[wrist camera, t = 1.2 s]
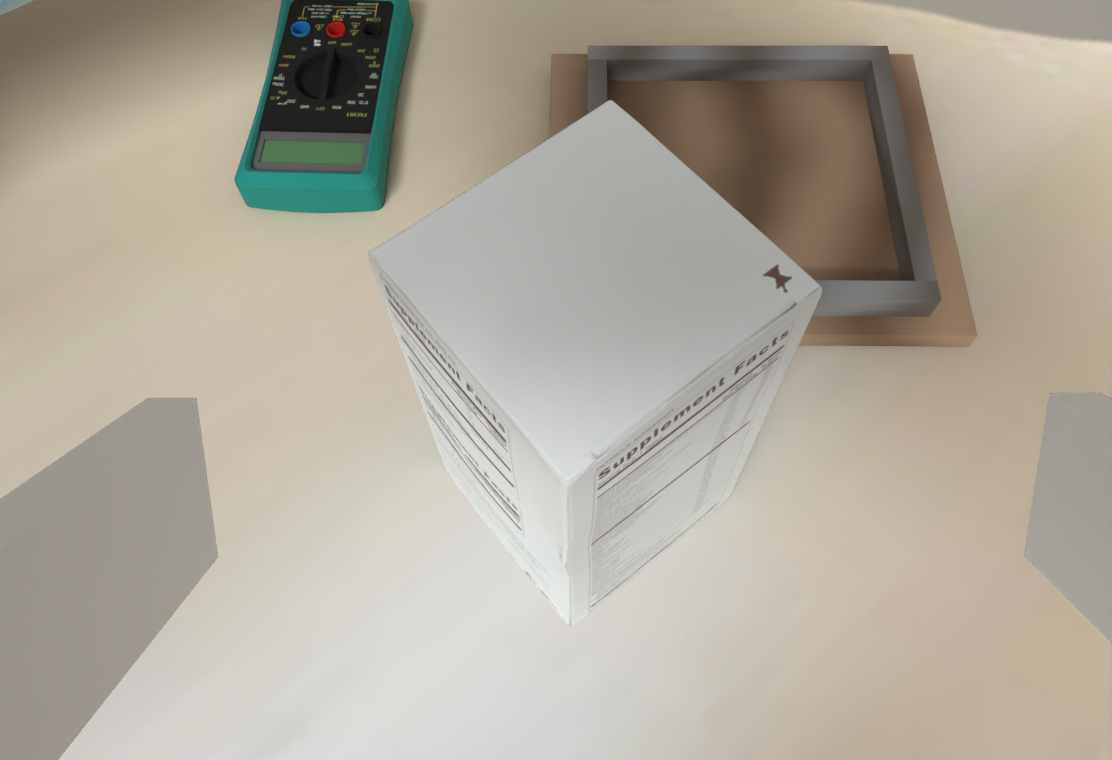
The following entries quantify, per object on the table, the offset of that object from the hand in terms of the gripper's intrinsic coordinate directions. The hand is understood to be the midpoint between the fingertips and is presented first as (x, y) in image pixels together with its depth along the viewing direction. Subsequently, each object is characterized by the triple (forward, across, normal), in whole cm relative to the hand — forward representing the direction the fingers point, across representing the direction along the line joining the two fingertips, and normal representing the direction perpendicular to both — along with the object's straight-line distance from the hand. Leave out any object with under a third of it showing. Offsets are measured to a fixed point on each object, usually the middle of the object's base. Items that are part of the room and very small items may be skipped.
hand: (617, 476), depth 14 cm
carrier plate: (+35, +8, +1) cm, 36 cm away
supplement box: (+24, 0, -10) cm, 26 cm away
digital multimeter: (+39, -14, +5) cm, 42 cm away
